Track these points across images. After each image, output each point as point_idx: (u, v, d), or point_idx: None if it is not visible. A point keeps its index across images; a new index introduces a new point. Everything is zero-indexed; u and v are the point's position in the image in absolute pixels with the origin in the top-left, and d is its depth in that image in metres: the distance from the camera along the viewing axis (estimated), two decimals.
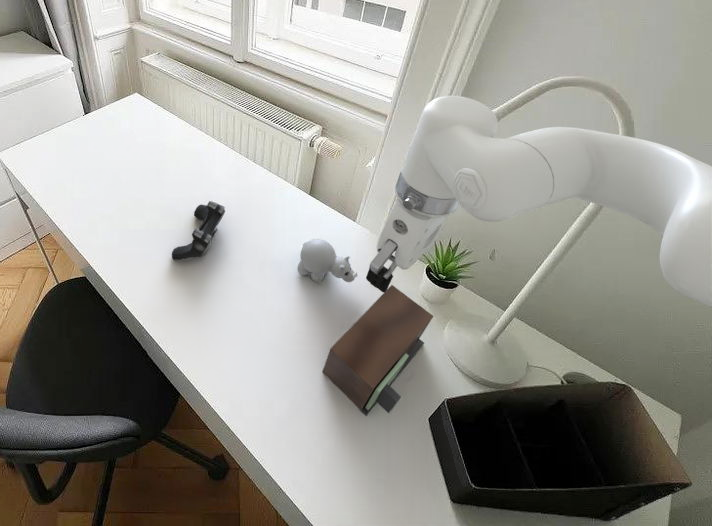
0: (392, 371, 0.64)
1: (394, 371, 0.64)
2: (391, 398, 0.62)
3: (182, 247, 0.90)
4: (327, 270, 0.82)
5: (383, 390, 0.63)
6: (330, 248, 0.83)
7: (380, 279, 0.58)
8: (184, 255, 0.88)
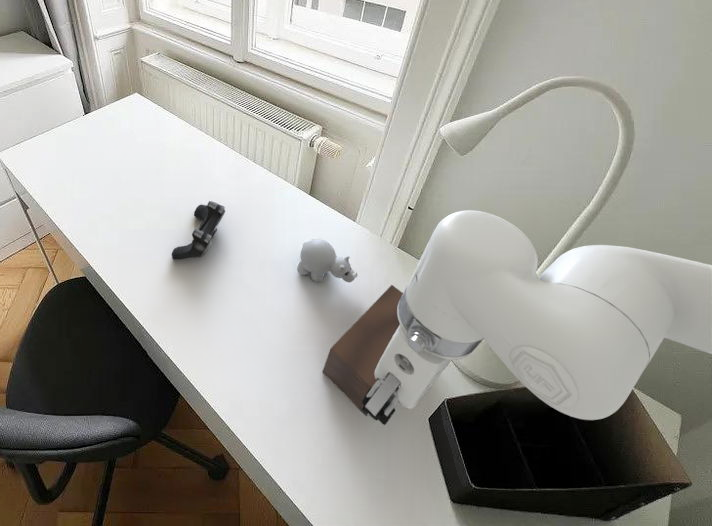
0: None
1: None
2: (391, 398, 0.62)
3: (182, 247, 0.90)
4: (327, 270, 0.82)
5: None
6: (330, 248, 0.83)
7: None
8: (184, 255, 0.88)
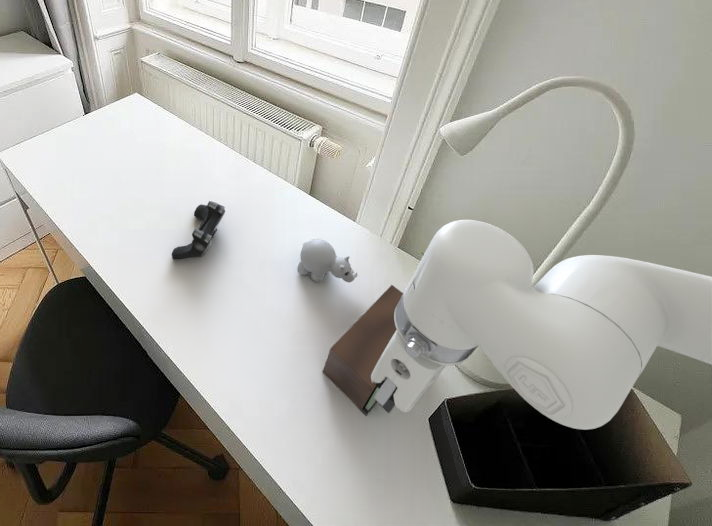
0: None
1: None
2: None
3: (182, 247, 0.90)
4: (327, 270, 0.82)
5: None
6: (330, 248, 0.83)
7: None
8: (184, 255, 0.88)
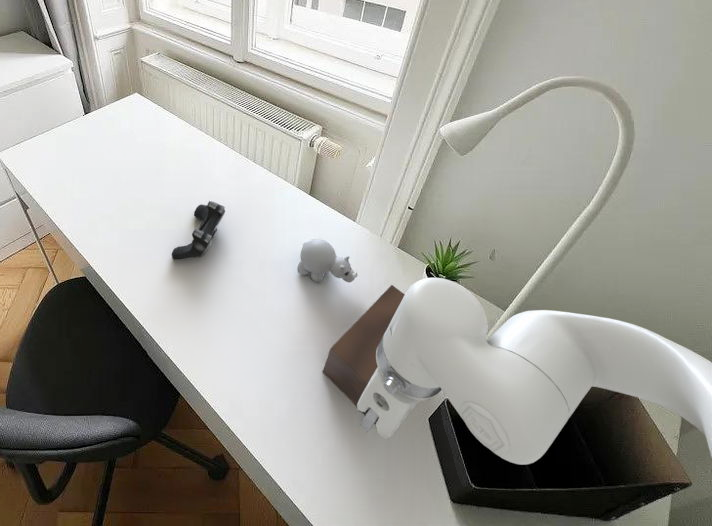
0: None
1: None
2: None
3: (182, 247, 0.90)
4: (327, 270, 0.82)
5: None
6: (330, 248, 0.83)
7: None
8: (184, 255, 0.88)
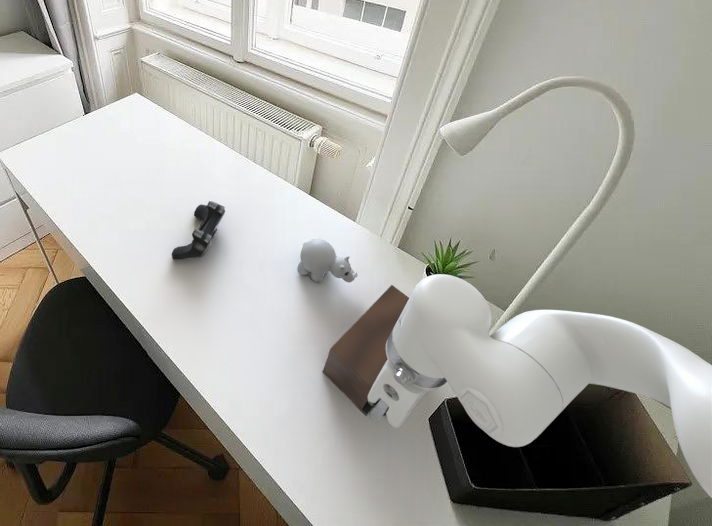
0: None
1: None
2: None
3: (182, 247, 0.90)
4: (327, 270, 0.82)
5: None
6: (330, 248, 0.83)
7: None
8: (184, 255, 0.88)
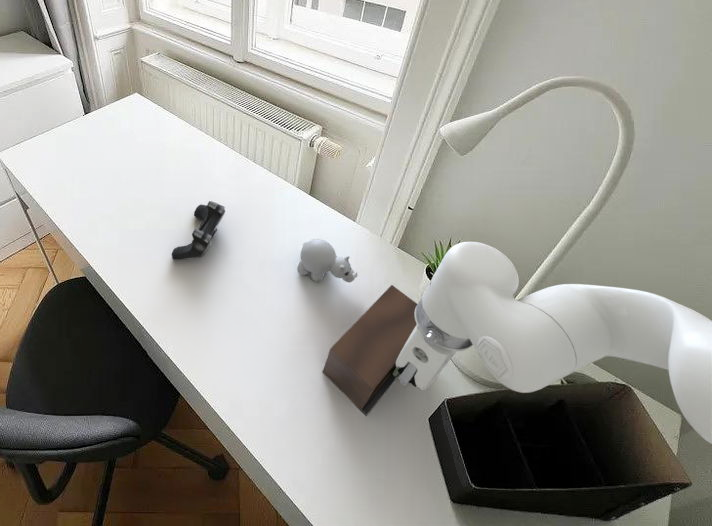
0: None
1: None
2: None
3: (182, 247, 0.90)
4: (327, 270, 0.82)
5: None
6: (330, 248, 0.83)
7: (412, 377, 0.62)
8: (184, 255, 0.88)
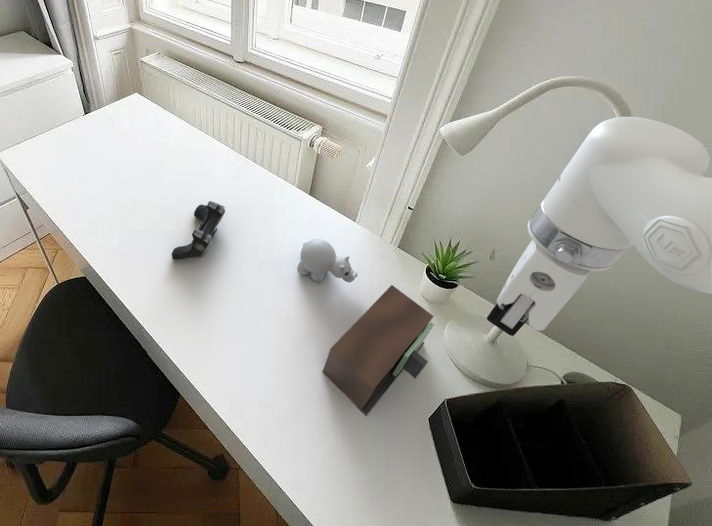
0: (419, 338, 0.67)
1: (421, 338, 0.67)
2: (418, 363, 0.66)
3: (182, 247, 0.90)
4: (327, 270, 0.82)
5: (411, 356, 0.67)
6: (330, 248, 0.83)
7: None
8: (184, 255, 0.88)
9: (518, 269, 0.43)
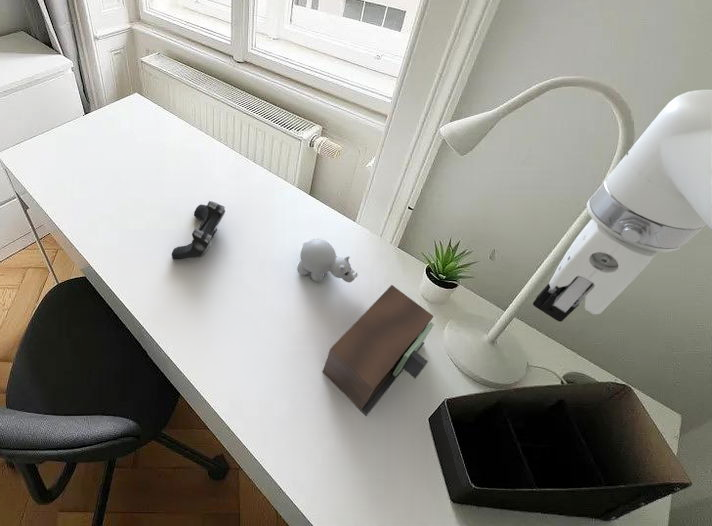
0: (419, 338, 0.67)
1: (421, 338, 0.67)
2: (418, 363, 0.66)
3: (182, 247, 0.90)
4: (327, 270, 0.82)
5: (411, 356, 0.67)
6: (330, 248, 0.83)
7: None
8: (184, 255, 0.88)
9: (576, 250, 0.42)
